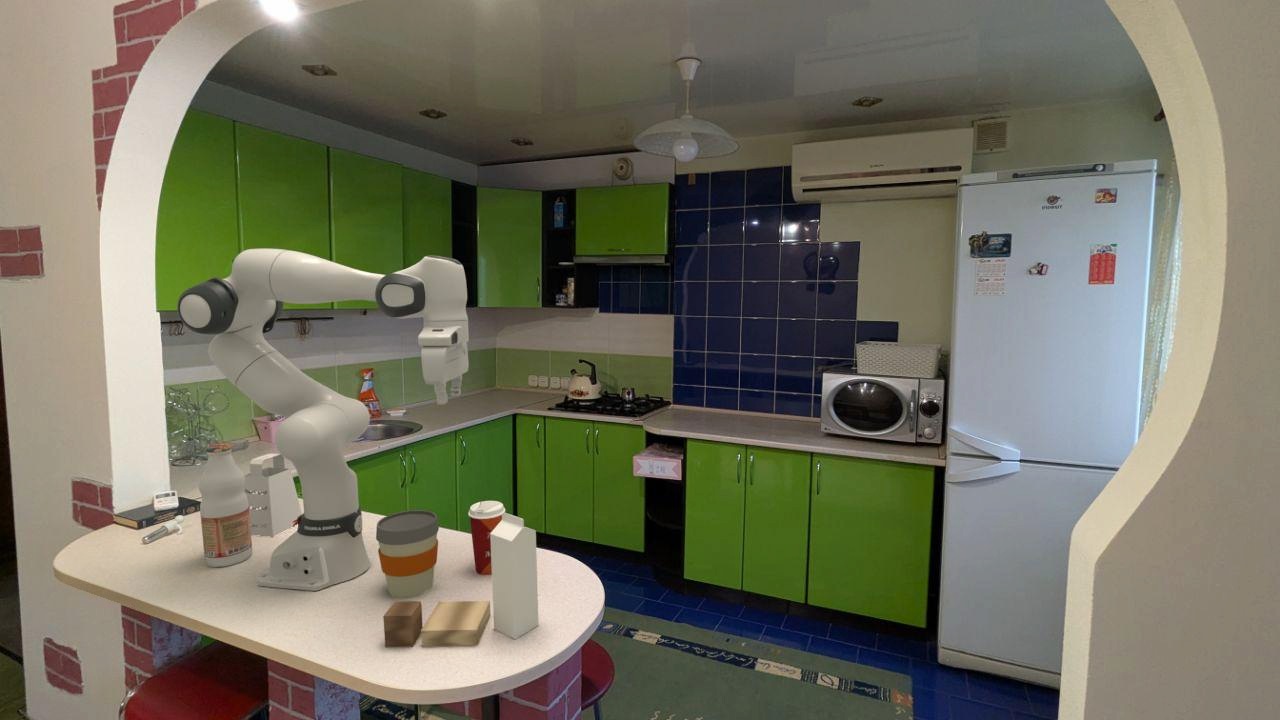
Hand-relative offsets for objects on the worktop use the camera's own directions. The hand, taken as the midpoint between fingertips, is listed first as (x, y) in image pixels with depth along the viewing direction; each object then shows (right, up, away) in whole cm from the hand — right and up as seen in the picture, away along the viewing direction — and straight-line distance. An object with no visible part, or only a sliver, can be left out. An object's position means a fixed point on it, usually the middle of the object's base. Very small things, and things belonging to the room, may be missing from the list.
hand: (449, 399), depth 125 cm
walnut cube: (-3, -43, -16) cm, 46 cm away
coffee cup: (+6, -40, +11) cm, 42 cm away
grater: (-60, -38, +36) cm, 79 cm away
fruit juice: (-59, -40, +17) cm, 73 cm away
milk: (+17, -43, -13) cm, 47 cm away
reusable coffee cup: (-9, -41, +3) cm, 42 cm away
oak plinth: (+6, -43, -14) cm, 45 cm away
